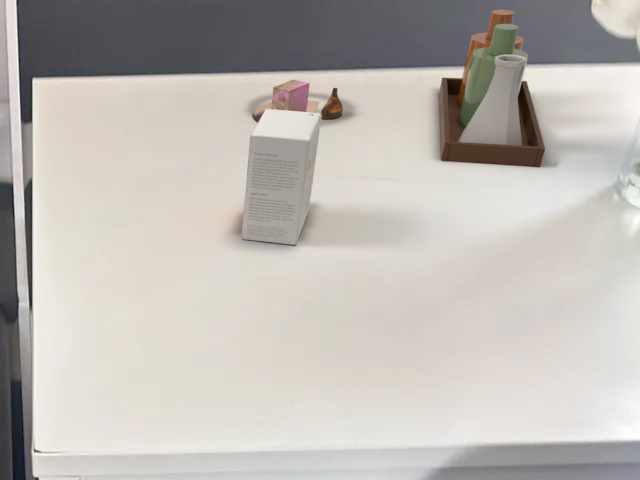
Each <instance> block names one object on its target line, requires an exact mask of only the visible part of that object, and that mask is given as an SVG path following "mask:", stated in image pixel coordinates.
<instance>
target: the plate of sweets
mask: <svg viewBox="0 0 640 480" xmlns="http://www.w3.org/2000/svg"><path fill="white" fill-rule="evenodd" d="M310 85H311V83H310V82H307V81H301V80H297V79H292V80H289V81H286V82H284V83H281V84H278V85H275V86H273V88H272V97H271V98H272V99H271V102H269V103H265V104H262V105H260V106H258V107H257V108H255V109H254V111H253V112H252V115H251V116H252V118H253V120H254V121H255V122H256V123H258V122H259V120H260V118H261V116H262V114H263V113H264V111H265V109H275V110H287V111H299V112H312V113H318V112H317V111H318V109H319V104H320V101H318V100H309V91H310ZM343 111H344V106H343V103H342V102H341V100H340V98H339V95H338V87H333V88H332V91H331V94H330V97H329V98H328V100H327V102H326V103H325V104H324V105H323V107H322V109H321V111H320V113H321V114H322V117H321V120H322V119H323V120H334V119H338V118H339V117H340V116H341V115H342V114H343Z"/></svg>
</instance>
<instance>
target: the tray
mask: <svg viewBox="0 0 640 480" xmlns="http://www.w3.org/2000/svg"><path fill="white" fill-rule="evenodd" d="M461 81H462V77H441V81H440V87H439V92H438V104H439V133H440V136H439V139H440V160H441V162H453V163H468V164H481V165H482V164H483V165H484V164H485V165H499V166H516V167H529V168H540V167H541V165H542V162H543V158H544V154H545V151H546V146H545V143H544V139H543V137H542V132H541V129H540V125H539V122H538V118H537V114H536V110H535V107H534V102H533V99H532V96H531V92H530V88H529V85H528V81H527V80H522V83H521V87H520V91H519V95H518V110H519V121H520V129H521V138H522V146H517V145H500V144H483V143H466V142H458V140H459V138H460V136H461V135H462V133H463V131H464V130H465V128H466V127H465V126H463V125H461V124H460V123H459V122H458V119H459V114H460V109H461V107H460V106H458V105H457V99H458V95H459V90H460V86H461Z"/></svg>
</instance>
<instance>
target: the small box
mask: <svg viewBox="0 0 640 480" xmlns="http://www.w3.org/2000/svg"><path fill="white" fill-rule="evenodd" d="M321 122H322V114H321V112H316V113H312V112H299V111H287V110H275V109H265V111H264V113H263V114H262V116H261V118H260V120H259V122H256V124H255V125H256V126H255V127H254V129H253V131H252V132H251V134H250V135H249V147H248V159H247V168H246V169H247V170H246V182H245V183H246V184H245V193H244V203H243V219H242V228H241V239H242V240H246V241H255V242H256V241H257V242H267V243H274V244H283V245H292V246H296V245H298V241H299V238H300V236H301V233H302V230H303V227H304V225H305V222H306V219H307V216H308V215H309V211H310V202H311V197H312V190H313V183H314V182H313V181H314V175H315V167H316V161H317V152H318V146H319V137H320V132H321V131H320V130H321V124H322V123H321Z"/></svg>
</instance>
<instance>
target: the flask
mask: <svg viewBox="0 0 640 480" xmlns="http://www.w3.org/2000/svg"><path fill="white" fill-rule="evenodd" d="M525 63H526V57H522V56H518V55H508V54H503V55H499V56H496V57H495V65H496V69H495V73H494V76H493V79H492V81H491V84H490V86H489V89H488V91H487V93H486V95H485V96H484V98H483V100H482V102H481V103H480V105H479V107H478V109H477V110H476V112H475V114H474V115H473V117H472V119H471V120H470V122H469V123H468V125H467V127H466V128H465V130H464V131H463V133H462V135H461V136H460V138H459V140H458V142H466V143H483V144H500V145H517V146H522V138H521V129H520V121H519V110H518V97H517V92H518V79H519V75H520V71H521V68H522V66H524V65H525ZM526 64H527V63H526Z"/></svg>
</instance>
